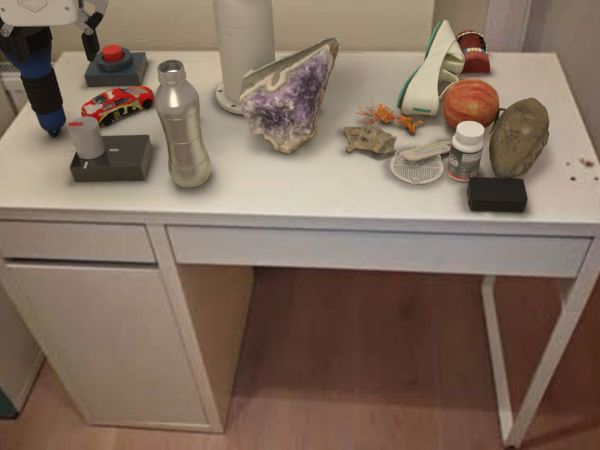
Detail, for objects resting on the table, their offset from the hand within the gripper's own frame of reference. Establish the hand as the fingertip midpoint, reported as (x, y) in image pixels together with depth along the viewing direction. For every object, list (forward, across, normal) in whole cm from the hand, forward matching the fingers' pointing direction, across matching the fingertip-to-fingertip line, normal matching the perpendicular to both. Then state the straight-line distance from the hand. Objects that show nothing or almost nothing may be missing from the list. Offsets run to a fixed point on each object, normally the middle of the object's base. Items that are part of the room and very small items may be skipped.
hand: (58, 57), depth 91 cm
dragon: (+20, +48, +9) cm, 53 cm away
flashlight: (+20, -8, +9) cm, 23 cm away
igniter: (+19, -2, +28) cm, 34 cm away
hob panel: (+20, +4, 0) cm, 20 cm away
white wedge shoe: (+15, +54, +22) cm, 60 cm away
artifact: (+19, +40, +8) cm, 45 cm away
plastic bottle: (+20, +16, -4) cm, 26 cm away
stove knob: (+17, 0, 0) cm, 17 cm away
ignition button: (+16, -2, +28) cm, 32 cm away
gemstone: (+13, +31, +15) cm, 36 cm away
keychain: (+18, +53, +2) cm, 56 cm away
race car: (+20, +2, +15) cm, 25 cm away
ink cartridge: (+18, +66, -10) cm, 69 cm away
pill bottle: (+19, +58, -3) cm, 62 cm away
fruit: (+14, +57, +9) cm, 59 cm away
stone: (+19, +68, 0) cm, 71 cm away
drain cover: (+19, +52, -2) cm, 55 cm away
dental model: (+16, +65, +23) cm, 71 cm away
